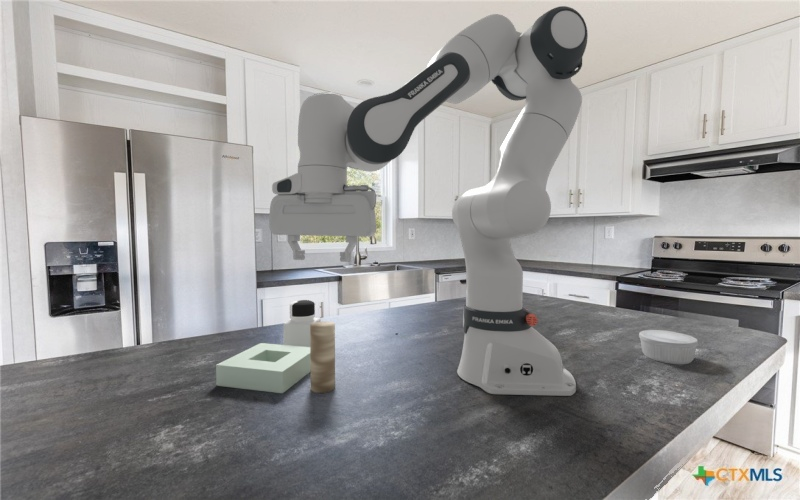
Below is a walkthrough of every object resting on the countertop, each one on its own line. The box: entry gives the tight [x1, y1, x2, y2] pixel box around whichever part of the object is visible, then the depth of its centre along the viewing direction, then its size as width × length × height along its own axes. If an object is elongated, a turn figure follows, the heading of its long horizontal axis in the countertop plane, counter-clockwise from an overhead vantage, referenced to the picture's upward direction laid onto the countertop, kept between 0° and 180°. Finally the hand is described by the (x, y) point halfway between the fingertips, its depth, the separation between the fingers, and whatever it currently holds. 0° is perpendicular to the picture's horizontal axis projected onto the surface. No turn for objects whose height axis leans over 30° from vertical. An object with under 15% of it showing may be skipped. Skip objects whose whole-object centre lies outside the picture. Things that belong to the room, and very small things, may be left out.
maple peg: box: [310, 321, 336, 394], centre depth 68 cm, size 4×4×12 cm
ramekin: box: [638, 329, 699, 365], centre depth 86 cm, size 11×11×5 cm
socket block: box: [215, 342, 311, 394], centre depth 74 cm, size 14×14×4 cm
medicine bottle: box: [282, 299, 321, 347], centre depth 91 cm, size 7×7×12 cm
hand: (321, 260), depth 68 cm, fingers open, 8 cm apart
